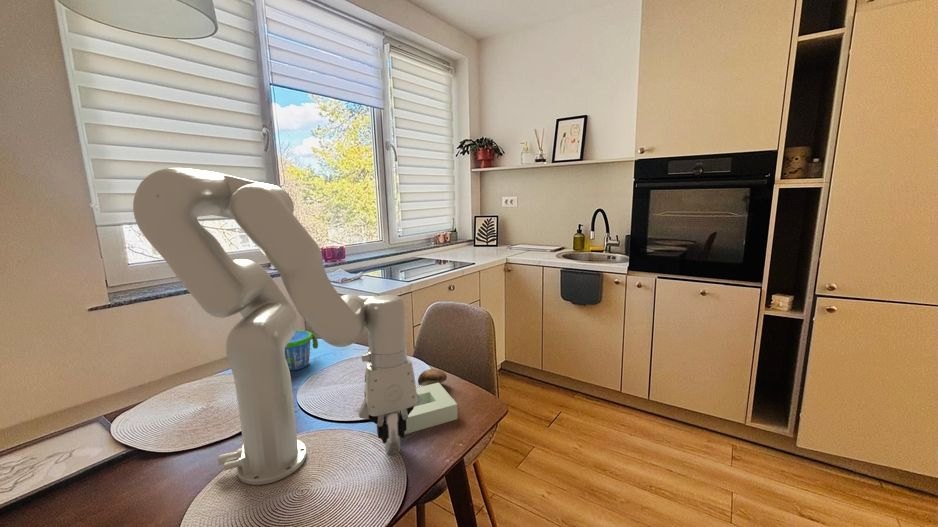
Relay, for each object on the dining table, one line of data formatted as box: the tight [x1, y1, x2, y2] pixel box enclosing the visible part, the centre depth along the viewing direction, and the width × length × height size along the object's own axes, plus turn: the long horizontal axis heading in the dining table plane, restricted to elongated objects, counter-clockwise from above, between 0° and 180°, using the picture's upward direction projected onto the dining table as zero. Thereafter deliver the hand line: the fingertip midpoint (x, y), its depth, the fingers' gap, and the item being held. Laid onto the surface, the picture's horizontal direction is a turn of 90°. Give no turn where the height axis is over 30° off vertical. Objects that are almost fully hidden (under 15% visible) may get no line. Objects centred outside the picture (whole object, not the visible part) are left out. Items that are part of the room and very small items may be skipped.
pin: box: [384, 411, 401, 456], centre depth 81 cm, size 3×3×10 cm
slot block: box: [404, 383, 458, 435], centre depth 94 cm, size 18×12×4 cm, turn 116°
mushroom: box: [417, 368, 448, 387], centre depth 107 cm, size 8×8×6 cm
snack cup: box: [285, 329, 319, 371], centre depth 121 cm, size 16×10×10 cm
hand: (392, 436), depth 81 cm, fingers closed on pin, 3 cm apart
